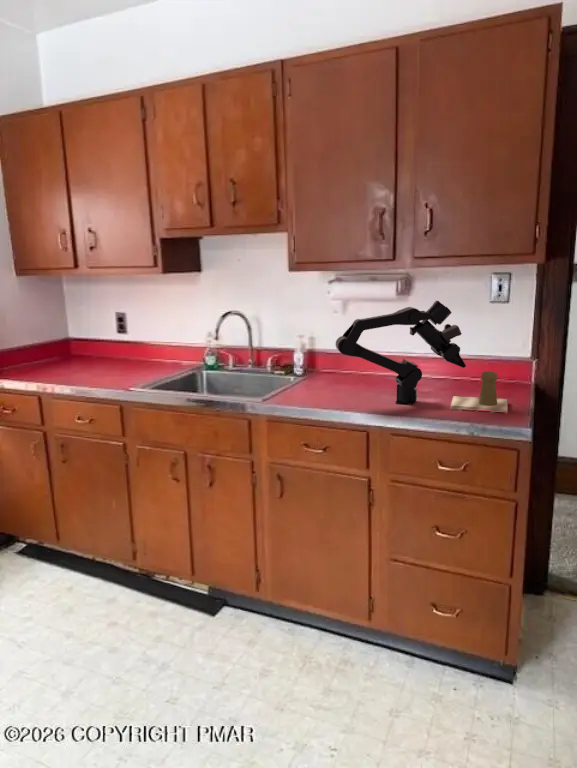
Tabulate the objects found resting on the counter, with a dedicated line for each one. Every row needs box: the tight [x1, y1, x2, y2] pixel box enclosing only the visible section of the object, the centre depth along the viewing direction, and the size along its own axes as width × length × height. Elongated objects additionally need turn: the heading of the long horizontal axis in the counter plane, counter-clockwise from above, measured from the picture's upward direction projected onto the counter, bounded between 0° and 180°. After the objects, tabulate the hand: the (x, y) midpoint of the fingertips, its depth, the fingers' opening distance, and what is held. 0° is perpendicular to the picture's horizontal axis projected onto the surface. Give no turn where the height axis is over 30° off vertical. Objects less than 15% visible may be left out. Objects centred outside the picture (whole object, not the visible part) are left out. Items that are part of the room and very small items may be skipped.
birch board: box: [450, 395, 508, 413], centre depth 195 cm, size 18×13×2 cm
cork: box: [479, 371, 498, 406], centre depth 192 cm, size 6×6×11 cm
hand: (460, 364), depth 201 cm, fingers open, 9 cm apart
